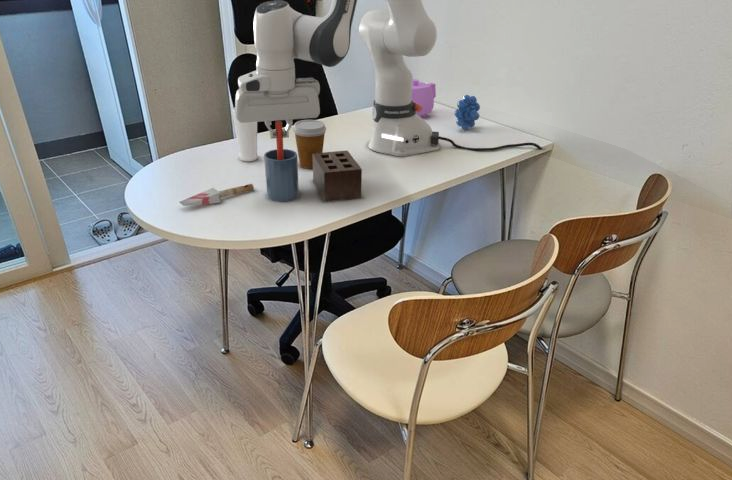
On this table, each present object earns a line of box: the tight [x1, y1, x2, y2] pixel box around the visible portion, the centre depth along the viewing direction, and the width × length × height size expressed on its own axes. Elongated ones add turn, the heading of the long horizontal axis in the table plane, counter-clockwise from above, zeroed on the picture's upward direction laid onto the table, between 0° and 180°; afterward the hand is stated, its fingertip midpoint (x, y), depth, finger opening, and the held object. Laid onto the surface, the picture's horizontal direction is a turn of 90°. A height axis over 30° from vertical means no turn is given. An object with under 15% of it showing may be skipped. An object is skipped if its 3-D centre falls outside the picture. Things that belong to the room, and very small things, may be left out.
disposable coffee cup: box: [292, 119, 327, 170], centre depth 160 cm, size 10×10×12 cm
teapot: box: [411, 78, 437, 118], centre depth 201 cm, size 20×12×13 cm, turn 122°
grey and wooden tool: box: [178, 183, 255, 207], centre depth 142 cm, size 4×3×20 cm
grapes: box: [454, 94, 481, 131], centre depth 188 cm, size 12×7×12 cm, turn 126°
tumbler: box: [263, 148, 300, 203], centre depth 143 cm, size 8×8×11 cm
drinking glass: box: [232, 106, 259, 162], centre depth 163 cm, size 7×7×15 cm
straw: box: [274, 120, 284, 160], centre depth 139 cm, size 2×2×16 cm
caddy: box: [312, 150, 363, 203], centre depth 147 cm, size 10×14×8 cm
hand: (279, 137), depth 137 cm, fingers closed on straw, 1 cm apart
